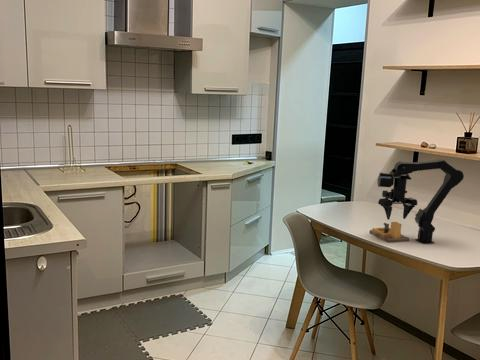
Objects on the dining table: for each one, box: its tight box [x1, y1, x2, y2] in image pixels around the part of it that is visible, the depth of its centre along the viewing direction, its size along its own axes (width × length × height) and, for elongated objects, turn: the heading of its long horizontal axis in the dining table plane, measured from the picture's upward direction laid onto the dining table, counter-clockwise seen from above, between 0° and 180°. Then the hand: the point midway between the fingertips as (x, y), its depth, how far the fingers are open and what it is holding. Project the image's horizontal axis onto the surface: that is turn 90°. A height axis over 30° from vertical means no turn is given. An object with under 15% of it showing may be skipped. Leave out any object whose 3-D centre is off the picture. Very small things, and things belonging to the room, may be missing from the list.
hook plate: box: [369, 222, 410, 244], centre depth 236 cm, size 16×12×6 cm
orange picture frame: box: [371, 221, 402, 238], centre depth 236 cm, size 14×10×7 cm
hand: (396, 219), depth 230 cm, fingers open, 9 cm apart
